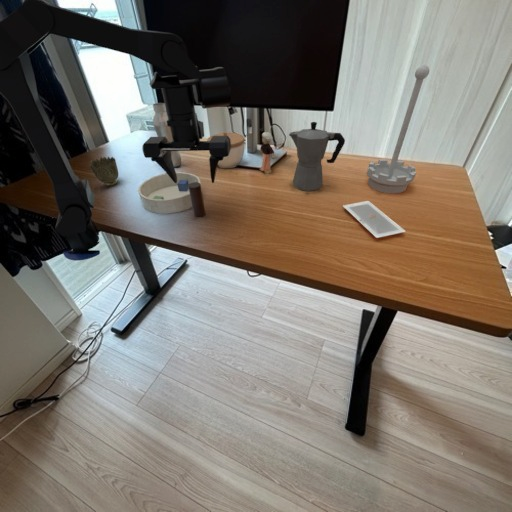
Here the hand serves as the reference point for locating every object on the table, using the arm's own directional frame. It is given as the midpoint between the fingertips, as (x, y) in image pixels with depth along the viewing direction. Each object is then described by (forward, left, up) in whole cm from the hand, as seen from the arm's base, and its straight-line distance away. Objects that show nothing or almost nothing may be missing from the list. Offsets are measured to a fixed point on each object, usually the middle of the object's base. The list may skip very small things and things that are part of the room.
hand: (194, 182), depth 65 cm
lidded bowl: (+34, -3, -10) cm, 35 cm away
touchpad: (-2, -44, -10) cm, 45 cm away
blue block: (+14, +8, -9) cm, 18 cm away
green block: (+4, +13, -9) cm, 16 cm away
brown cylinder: (0, 0, -10) cm, 10 cm away
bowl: (+9, +10, -10) cm, 17 cm away
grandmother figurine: (+28, -17, -10) cm, 34 cm away
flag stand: (+18, -54, -10) cm, 58 cm away
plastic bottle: (+33, +17, -10) cm, 38 cm away
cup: (+18, +33, -10) cm, 39 cm away
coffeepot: (+18, -31, -10) cm, 37 cm away
